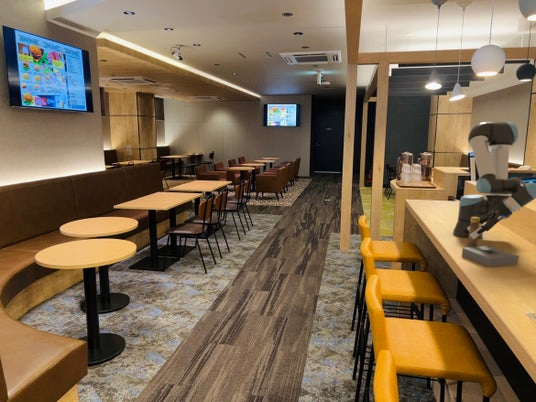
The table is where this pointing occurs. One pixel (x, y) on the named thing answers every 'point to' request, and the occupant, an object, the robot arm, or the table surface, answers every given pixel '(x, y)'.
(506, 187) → the robot arm
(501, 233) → the table surface
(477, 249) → the socket plate
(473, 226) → the yellow capped peg
